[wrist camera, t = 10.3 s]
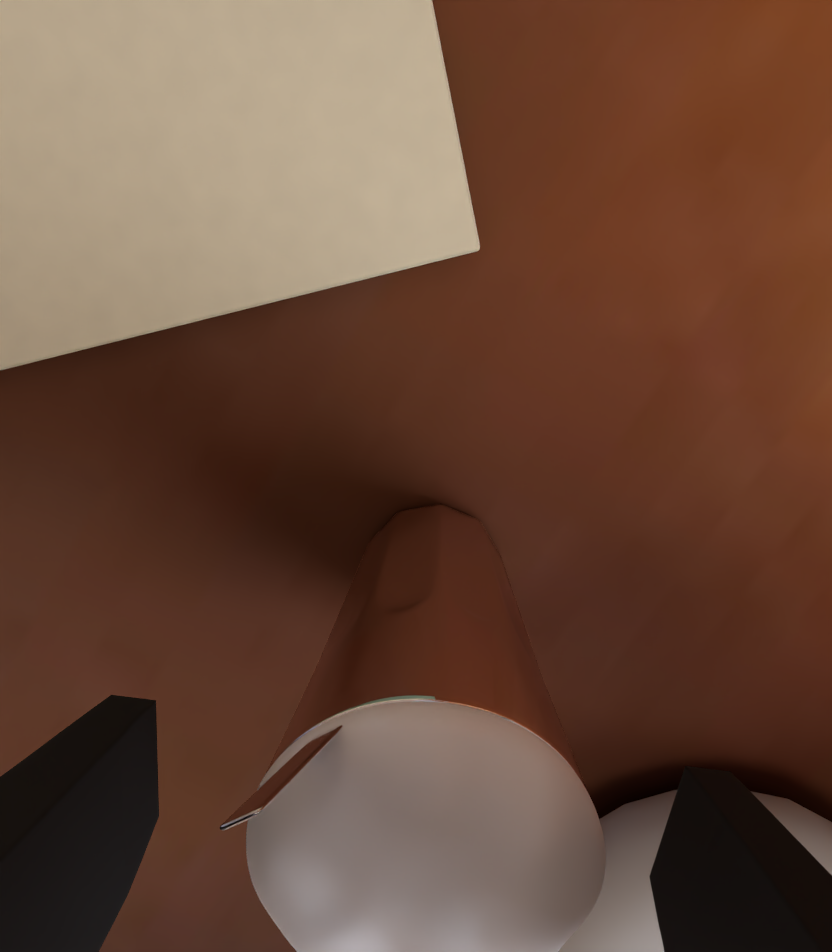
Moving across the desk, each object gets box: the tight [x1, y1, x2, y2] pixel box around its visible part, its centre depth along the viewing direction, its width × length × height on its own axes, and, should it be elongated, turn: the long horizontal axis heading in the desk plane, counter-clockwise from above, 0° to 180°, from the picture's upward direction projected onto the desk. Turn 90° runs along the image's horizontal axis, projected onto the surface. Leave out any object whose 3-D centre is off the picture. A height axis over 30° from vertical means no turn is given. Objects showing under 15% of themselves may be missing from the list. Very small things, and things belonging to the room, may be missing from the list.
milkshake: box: [220, 504, 606, 952], centre depth 11 cm, size 4×5×10 cm
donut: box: [558, 790, 832, 952], centre depth 18 cm, size 10×4×10 cm
